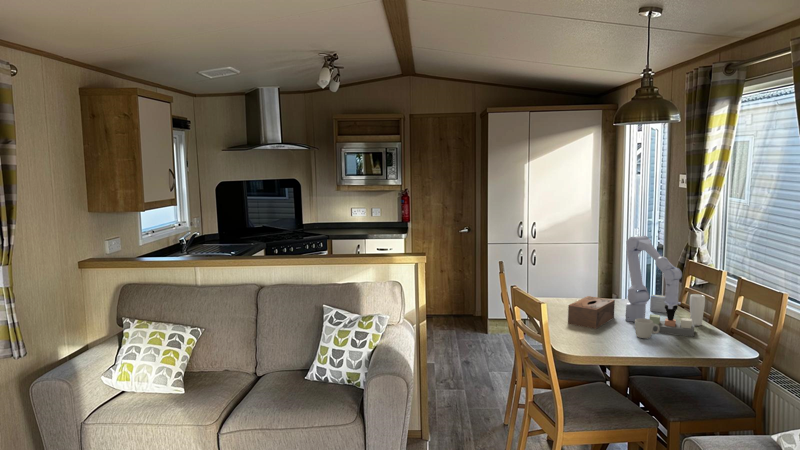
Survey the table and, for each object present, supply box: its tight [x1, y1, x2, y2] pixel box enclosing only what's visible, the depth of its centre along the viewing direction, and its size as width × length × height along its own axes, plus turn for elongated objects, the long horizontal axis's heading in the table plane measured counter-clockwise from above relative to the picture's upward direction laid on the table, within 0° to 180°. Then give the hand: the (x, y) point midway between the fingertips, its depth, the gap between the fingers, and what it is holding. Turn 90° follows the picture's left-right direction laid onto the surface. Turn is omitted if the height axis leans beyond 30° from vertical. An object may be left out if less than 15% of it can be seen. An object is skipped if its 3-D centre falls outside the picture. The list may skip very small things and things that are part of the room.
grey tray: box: [653, 320, 696, 338], centre depth 278 cm, size 21×11×3 cm, turn 61°
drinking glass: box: [689, 293, 706, 326], centre depth 288 cm, size 7×7×15 cm
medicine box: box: [649, 294, 667, 314], centre depth 314 cm, size 8×4×9 cm, turn 58°
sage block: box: [648, 313, 661, 325], centre depth 281 cm, size 4×4×4 cm
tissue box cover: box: [567, 295, 616, 330], centre depth 295 cm, size 26×14×10 cm, turn 140°
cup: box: [634, 318, 660, 339], centre depth 267 cm, size 11×8×8 cm
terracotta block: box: [664, 317, 677, 327], centre depth 278 cm, size 4×4×4 cm
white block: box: [680, 317, 692, 329], centre depth 274 cm, size 4×4×4 cm
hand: (670, 320), depth 277 cm, fingers closed, pressing on terracotta block
